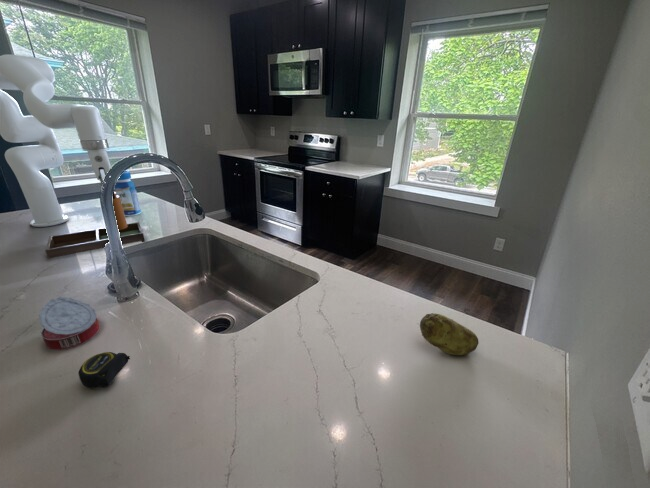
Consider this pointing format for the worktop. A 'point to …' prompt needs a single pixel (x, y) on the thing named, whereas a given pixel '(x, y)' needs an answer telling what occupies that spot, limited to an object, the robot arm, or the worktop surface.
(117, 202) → the bottle
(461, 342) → the potato
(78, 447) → the worktop surface
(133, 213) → the beverage bottle
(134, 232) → the tray
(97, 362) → the tape measure
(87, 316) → the canned food
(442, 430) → the worktop surface
